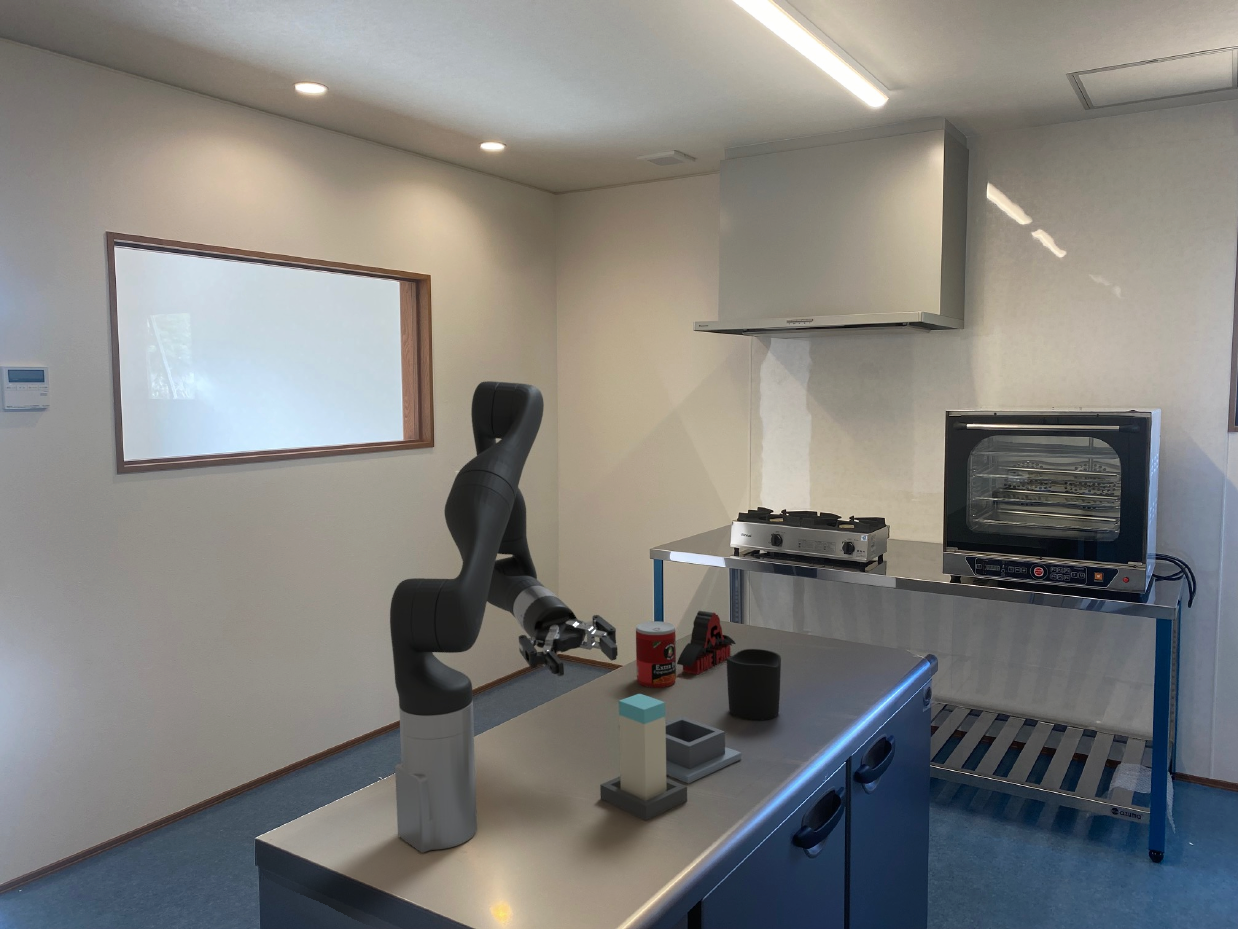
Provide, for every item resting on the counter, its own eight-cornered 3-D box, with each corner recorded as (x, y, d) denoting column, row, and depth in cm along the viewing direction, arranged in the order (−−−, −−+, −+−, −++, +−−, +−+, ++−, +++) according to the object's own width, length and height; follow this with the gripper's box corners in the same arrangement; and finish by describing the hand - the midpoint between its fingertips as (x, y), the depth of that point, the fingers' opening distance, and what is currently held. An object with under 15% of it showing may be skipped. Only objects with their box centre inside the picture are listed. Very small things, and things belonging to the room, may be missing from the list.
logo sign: (691, 678, 174) (690, 622, 174) (676, 675, 176) (675, 620, 176) (735, 655, 189) (735, 603, 188) (721, 652, 191) (720, 601, 190)
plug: (646, 810, 119) (644, 709, 118) (620, 798, 123) (618, 700, 122) (666, 800, 122) (665, 702, 121) (641, 789, 126) (639, 693, 125)
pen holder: (788, 720, 151) (788, 662, 150) (735, 724, 150) (735, 666, 149) (770, 701, 160) (770, 647, 160) (720, 705, 159) (720, 650, 158)
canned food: (656, 691, 167) (655, 634, 166) (628, 681, 173) (627, 626, 172) (684, 681, 172) (684, 626, 171) (656, 672, 178) (655, 619, 177)
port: (688, 783, 127) (687, 753, 127) (630, 759, 136) (630, 731, 136) (741, 759, 135) (740, 730, 135) (683, 737, 144) (683, 710, 144)
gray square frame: (646, 820, 117) (645, 805, 116) (600, 798, 123) (600, 784, 123) (687, 800, 122) (686, 786, 122) (641, 780, 129) (641, 767, 128)
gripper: (500, 606, 138) (542, 652, 124) (582, 585, 144) (630, 627, 130) (503, 648, 140) (544, 698, 126) (584, 626, 146) (632, 671, 133)
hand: (588, 662), depth 128 cm, fingers open, 8 cm apart
